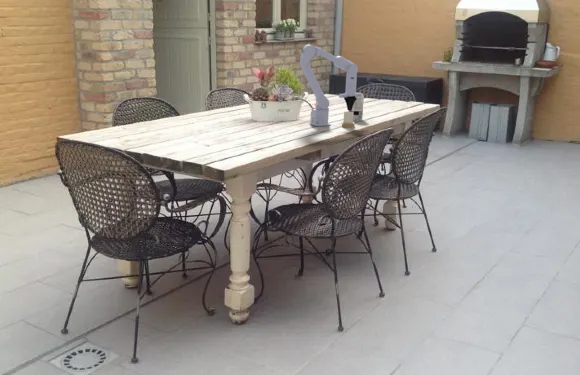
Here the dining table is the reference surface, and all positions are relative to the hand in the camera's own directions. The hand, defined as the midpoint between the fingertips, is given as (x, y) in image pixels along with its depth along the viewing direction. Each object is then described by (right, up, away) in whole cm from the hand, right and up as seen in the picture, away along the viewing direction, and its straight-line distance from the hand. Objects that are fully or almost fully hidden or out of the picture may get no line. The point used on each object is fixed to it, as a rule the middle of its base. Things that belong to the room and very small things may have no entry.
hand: (349, 110), depth 342 cm
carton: (-1, -9, -1) cm, 9 cm away
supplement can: (+5, -3, +22) cm, 23 cm away
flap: (-1, -7, -3) cm, 8 cm away
